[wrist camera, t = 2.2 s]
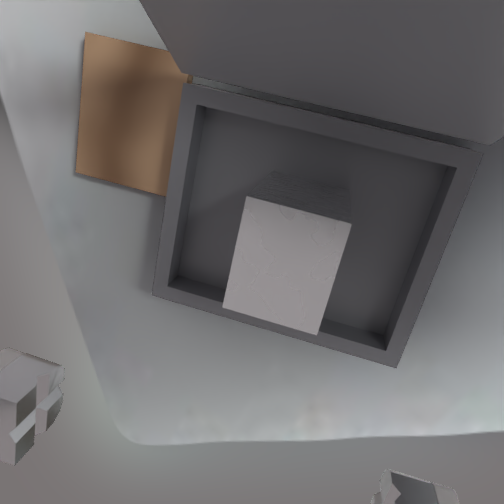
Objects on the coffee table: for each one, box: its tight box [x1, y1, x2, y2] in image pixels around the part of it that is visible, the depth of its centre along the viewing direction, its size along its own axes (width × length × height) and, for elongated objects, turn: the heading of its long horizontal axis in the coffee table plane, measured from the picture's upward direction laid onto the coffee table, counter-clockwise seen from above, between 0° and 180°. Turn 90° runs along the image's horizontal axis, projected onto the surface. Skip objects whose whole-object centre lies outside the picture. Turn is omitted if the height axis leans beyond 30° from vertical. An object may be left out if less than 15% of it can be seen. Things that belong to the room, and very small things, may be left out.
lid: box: [139, 0, 504, 145], centre depth 17 cm, size 17×14×1 cm
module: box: [222, 171, 352, 335], centre depth 25 cm, size 5×6×8 cm
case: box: [152, 83, 483, 368], centre depth 28 cm, size 17×14×3 cm
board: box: [76, 32, 193, 197], centre depth 29 cm, size 7×9×1 cm
